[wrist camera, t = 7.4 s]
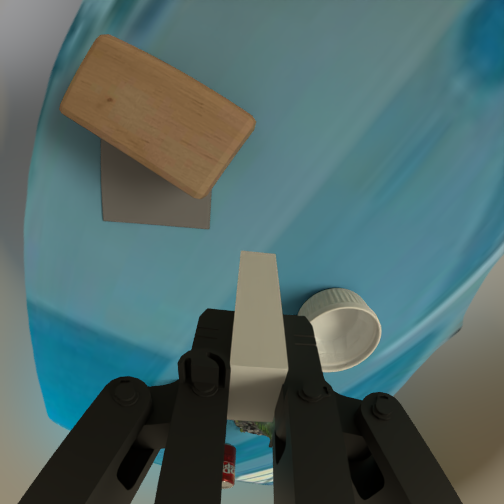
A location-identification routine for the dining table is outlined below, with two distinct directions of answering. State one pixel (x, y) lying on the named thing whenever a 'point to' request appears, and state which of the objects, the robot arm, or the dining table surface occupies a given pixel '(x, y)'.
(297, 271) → the dining table surface
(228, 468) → the soda can
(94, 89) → the wooden block
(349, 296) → the ramekin
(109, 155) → the mat
